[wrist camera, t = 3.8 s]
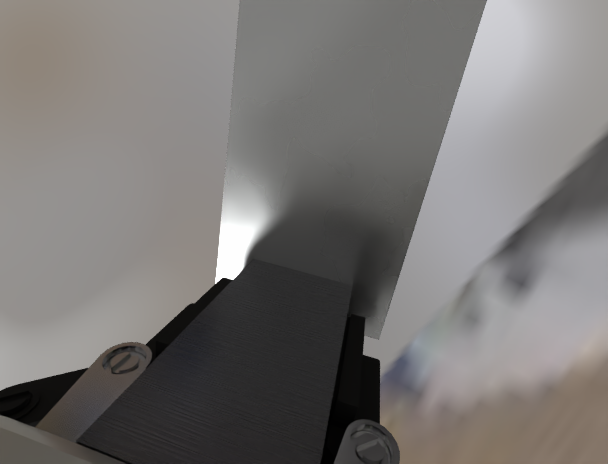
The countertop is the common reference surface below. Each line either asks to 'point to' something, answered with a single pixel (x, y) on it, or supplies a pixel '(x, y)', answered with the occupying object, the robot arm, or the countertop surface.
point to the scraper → (301, 225)
